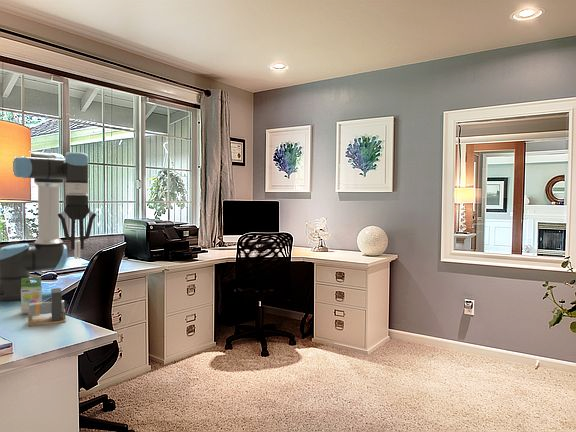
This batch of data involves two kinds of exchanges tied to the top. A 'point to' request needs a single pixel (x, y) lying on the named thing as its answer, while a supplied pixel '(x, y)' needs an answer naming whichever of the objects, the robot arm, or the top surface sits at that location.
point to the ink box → (30, 293)
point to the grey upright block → (56, 304)
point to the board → (44, 320)
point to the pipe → (42, 308)
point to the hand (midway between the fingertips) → (77, 258)
